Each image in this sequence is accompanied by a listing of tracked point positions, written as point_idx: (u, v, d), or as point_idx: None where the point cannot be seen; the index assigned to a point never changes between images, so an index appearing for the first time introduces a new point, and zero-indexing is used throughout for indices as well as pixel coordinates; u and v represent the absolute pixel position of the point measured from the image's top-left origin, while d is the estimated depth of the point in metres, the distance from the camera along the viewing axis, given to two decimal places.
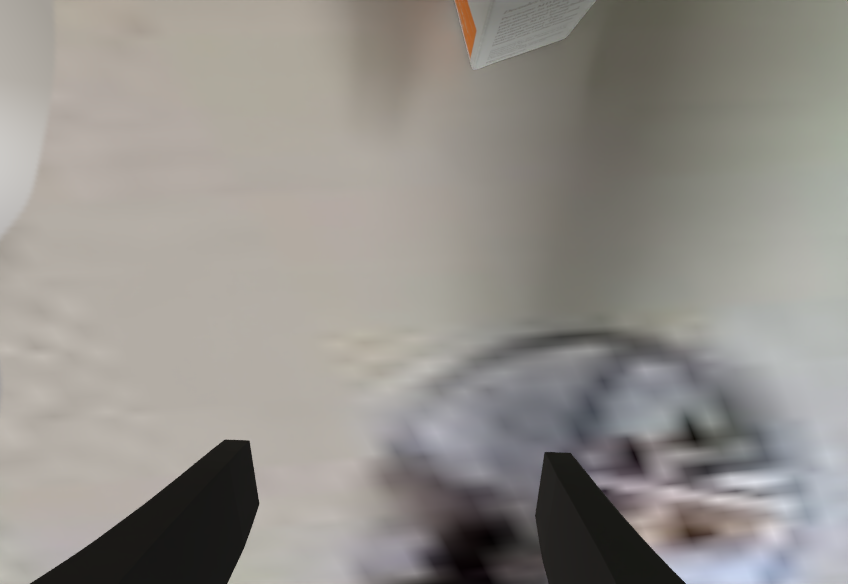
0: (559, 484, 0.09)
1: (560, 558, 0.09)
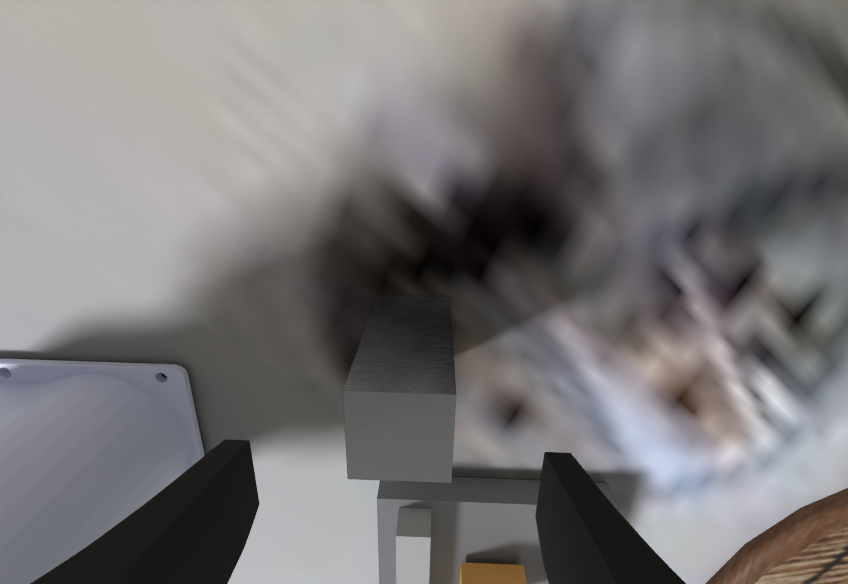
0: (559, 484, 0.09)
1: (560, 558, 0.09)
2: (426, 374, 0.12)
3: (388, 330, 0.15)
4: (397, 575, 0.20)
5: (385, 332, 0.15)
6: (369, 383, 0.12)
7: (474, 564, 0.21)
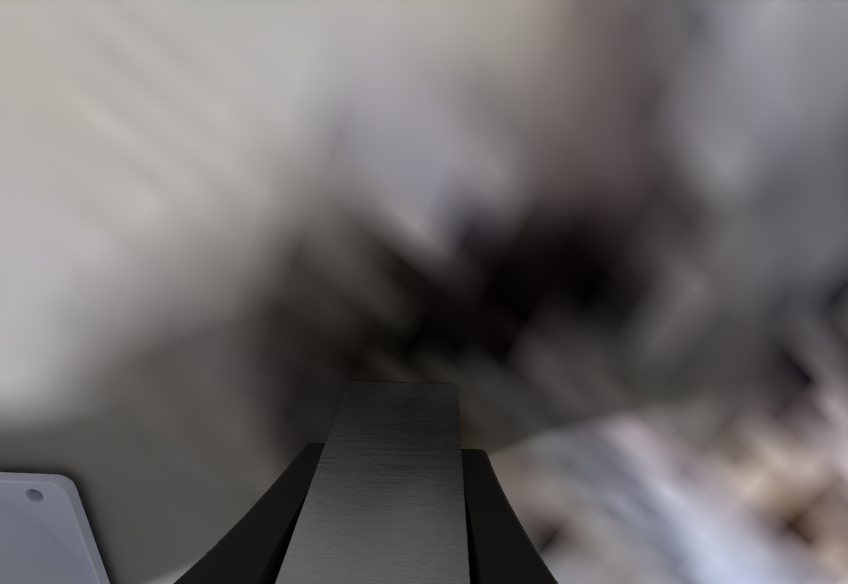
0: None
1: None
2: None
3: (355, 473, 0.09)
4: None
5: (349, 478, 0.09)
6: None
7: None
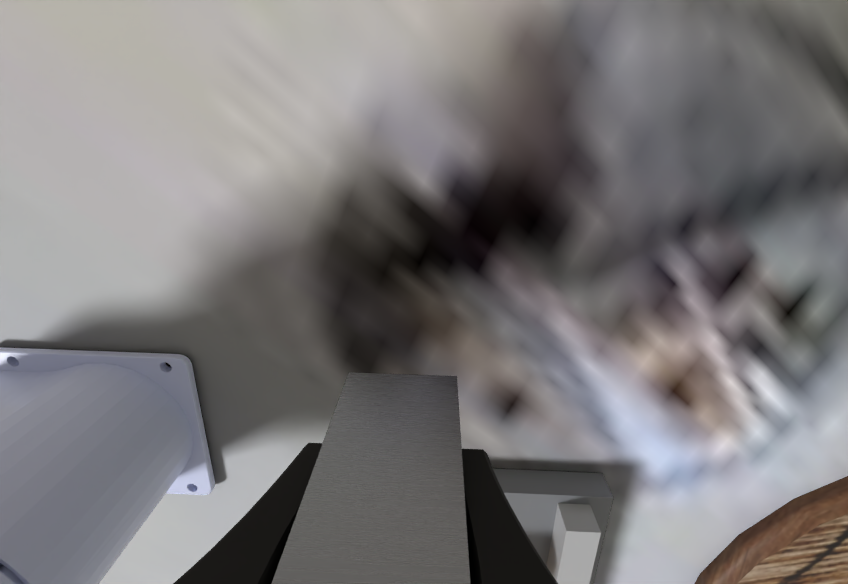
0: None
1: None
2: None
3: (356, 460, 0.09)
4: None
5: (350, 465, 0.09)
6: None
7: None
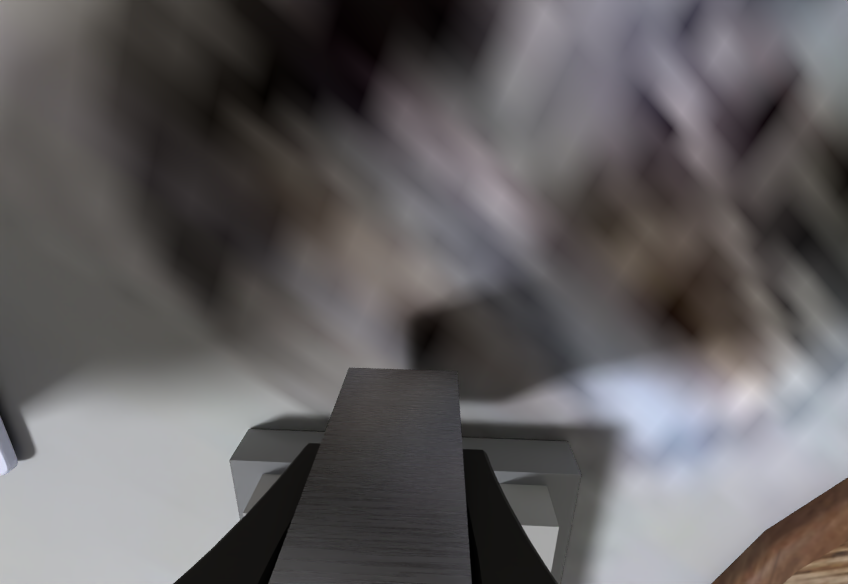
0: None
1: None
2: None
3: (356, 454, 0.09)
4: None
5: (350, 458, 0.09)
6: None
7: None
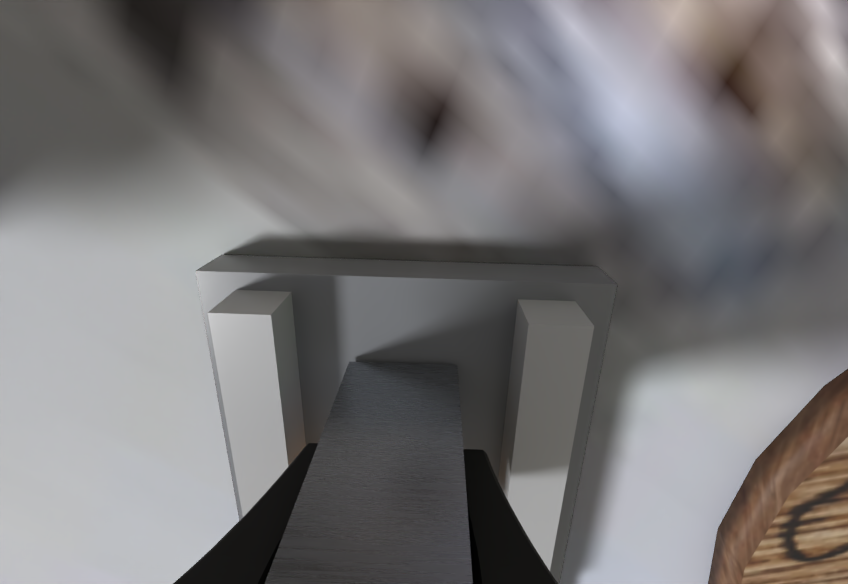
0: None
1: None
2: (417, 576, 0.06)
3: (357, 445, 0.09)
4: (225, 400, 0.11)
5: (351, 450, 0.09)
6: None
7: None
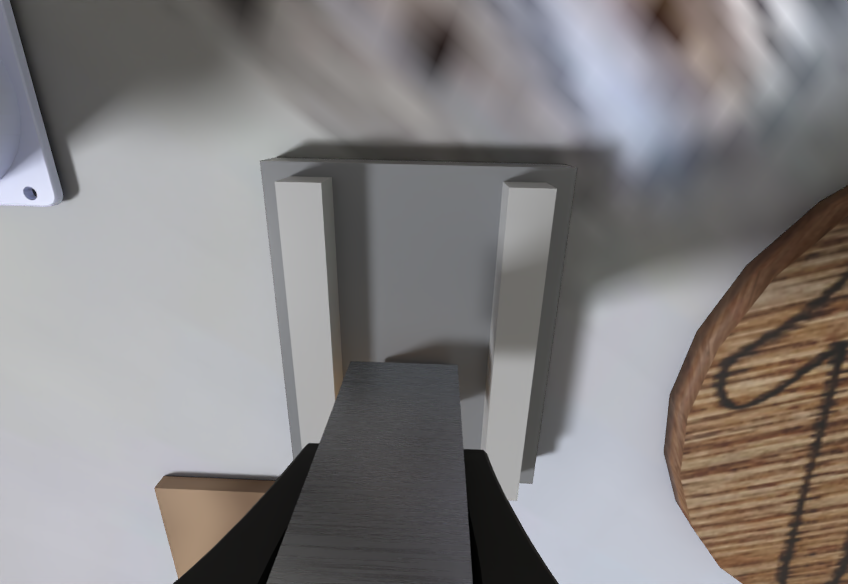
0: None
1: None
2: (417, 573, 0.07)
3: (358, 444, 0.09)
4: (283, 254, 0.15)
5: (352, 449, 0.09)
6: None
7: None
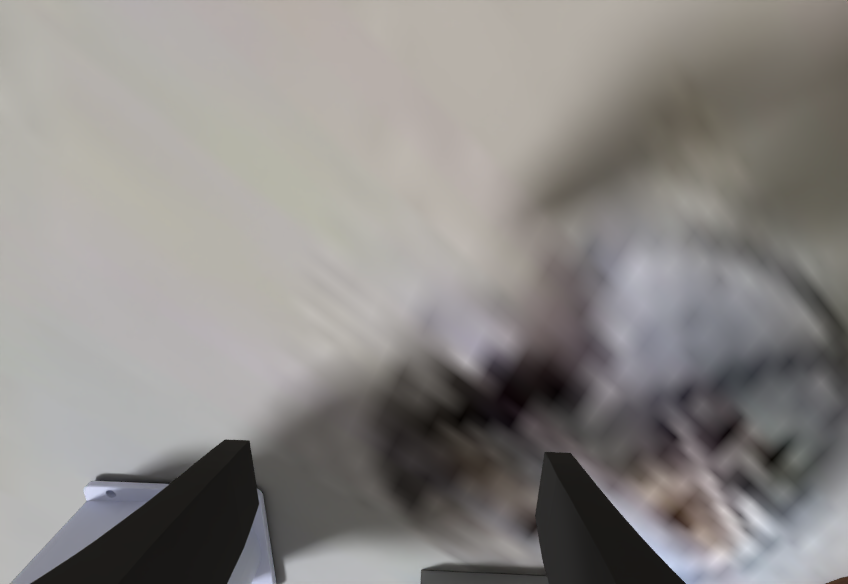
0: (559, 484, 0.09)
1: (560, 558, 0.09)
2: None
3: None
4: None
5: None
6: None
7: None
